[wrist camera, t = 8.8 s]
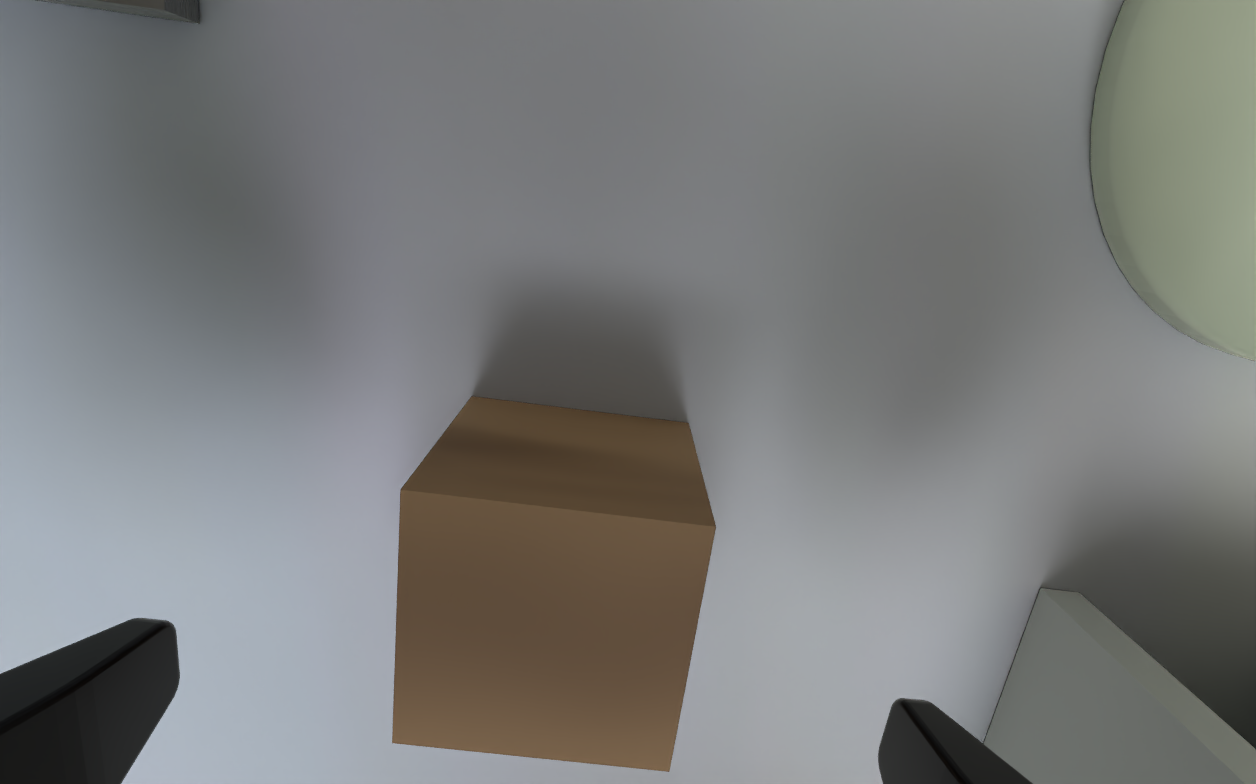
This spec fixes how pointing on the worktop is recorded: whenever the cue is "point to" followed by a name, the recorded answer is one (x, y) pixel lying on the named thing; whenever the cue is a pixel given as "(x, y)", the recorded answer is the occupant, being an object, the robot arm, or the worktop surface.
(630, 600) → the block
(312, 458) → the worktop surface
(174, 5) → the balance
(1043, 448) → the worktop surface
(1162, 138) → the dish
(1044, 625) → the cover
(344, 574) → the worktop surface
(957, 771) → the robot arm
